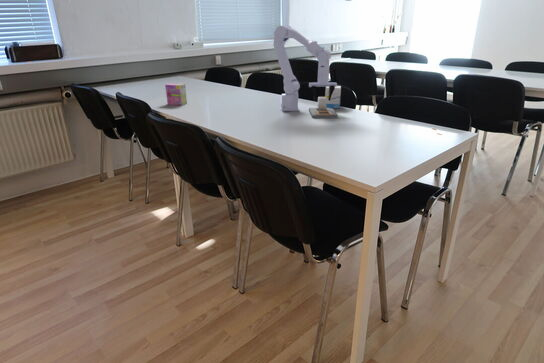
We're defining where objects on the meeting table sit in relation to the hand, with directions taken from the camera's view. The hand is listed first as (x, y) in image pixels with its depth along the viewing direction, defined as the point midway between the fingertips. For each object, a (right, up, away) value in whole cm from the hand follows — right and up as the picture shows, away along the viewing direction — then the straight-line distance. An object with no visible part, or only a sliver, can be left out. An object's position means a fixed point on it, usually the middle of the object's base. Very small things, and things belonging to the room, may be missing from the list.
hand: (322, 100), depth 202 cm
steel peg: (0, -6, +2) cm, 7 cm away
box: (-84, +3, +24) cm, 88 cm away
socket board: (0, -8, -2) cm, 8 cm away
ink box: (+8, -1, +16) cm, 17 cm away
